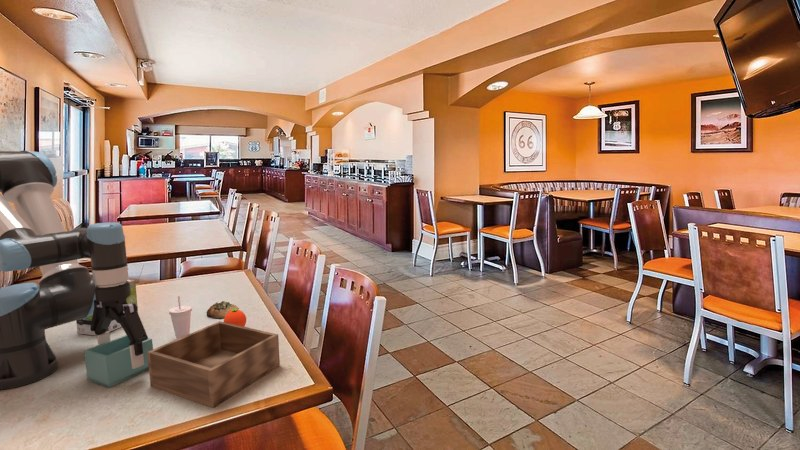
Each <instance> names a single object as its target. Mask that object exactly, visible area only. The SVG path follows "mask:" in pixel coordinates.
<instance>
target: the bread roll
mask: <svg viewBox="0 0 800 450" xmlns="http://www.w3.org/2000/svg"><path fill="white" fill-rule="evenodd" d="M232 309H237V310H240V307H238V306H237V305H235V304H233V303H230V302H229V301H225V300H223V301H221V302H218V301H217V302H215V303H214V304H212V305H210V307H209V308H208V309H207V310H206V316H207V317H208V318H210V319H211V318H212V319H214V318H215V319H224V318H225V316H226V314H227V313H228V312H230V311H231V310H232Z"/></svg>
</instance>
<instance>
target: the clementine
mask: <svg viewBox="0 0 800 450" xmlns="http://www.w3.org/2000/svg"><path fill="white" fill-rule="evenodd" d="M223 322H225V323H229V324H234V325H238V326H243V327H245V325H246V324H247V316H246V314H245V313H244V311H242V310H240V309H238V310H237V309H232V310H231V311H230V312H228V313H227V314H226V316H225V318H223Z"/></svg>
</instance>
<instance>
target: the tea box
mask: <svg viewBox="0 0 800 450" xmlns="http://www.w3.org/2000/svg"><path fill="white" fill-rule="evenodd" d="M127 281H128V282H129V283H130V290H131V295H130V296H129V297H127V299H126V301H127V303H128V304H132V303H135V304H136V308H137V312H138V313H139V310H138V309H139V307H138V295H137V285H136V284H137V283H136V280H135V279H128V280H127ZM92 317H93V315H92V316H89V317H87V318H85V319H79V320H76V321H75V322H76V323H75V324H76V332H77V334H80V335H88V336H97V335H96V334H95V331H91V330H90V327H91V322H92ZM97 325H98V324H97ZM119 328H122V326H121V324H120V323H117V322H116V320H114V319H112V321H111V323H110V325H109V327H108V329H109V331H106V332H109V333H110V332H112V331H115V330H117V329H119ZM106 332H105V333H106Z"/></svg>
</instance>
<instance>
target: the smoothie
mask: <svg viewBox="0 0 800 450" xmlns="http://www.w3.org/2000/svg"><path fill="white" fill-rule="evenodd" d="M177 302H178V304H177V305H178V306H174V307H172V308H170V309H169V310H168V312H169V313H168V314H169V315H170V319H171V322H172V327H173V331H174V335H175V340H177V339H179V338H181V337H184V336H186V335H189V334H191V315H192V311H193V308H192V306H190V305H181V296H180V295H178V296H177Z"/></svg>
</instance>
